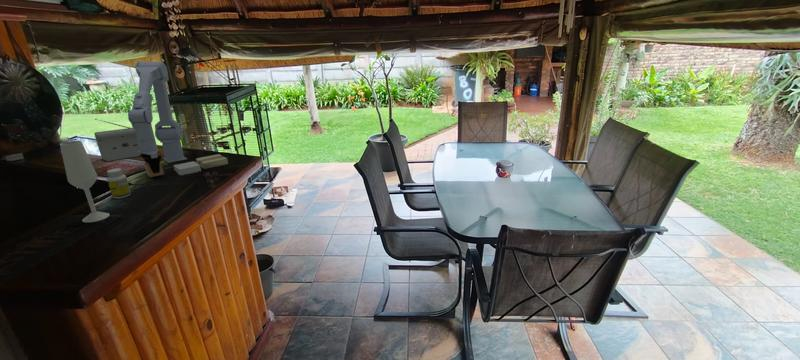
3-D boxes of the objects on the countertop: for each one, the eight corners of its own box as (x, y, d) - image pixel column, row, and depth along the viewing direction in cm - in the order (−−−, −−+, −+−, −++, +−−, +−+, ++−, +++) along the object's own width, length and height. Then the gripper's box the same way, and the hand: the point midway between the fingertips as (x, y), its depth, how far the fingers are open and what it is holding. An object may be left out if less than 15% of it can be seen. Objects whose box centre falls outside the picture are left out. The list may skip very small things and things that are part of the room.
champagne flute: (87, 224, 106) (60, 147, 97) (78, 219, 109) (51, 143, 101) (113, 215, 111) (90, 141, 103) (104, 211, 115) (80, 138, 106)
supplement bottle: (109, 197, 125) (101, 171, 122) (126, 192, 130) (118, 166, 126) (117, 200, 123) (109, 173, 119) (134, 194, 127) (127, 169, 124)
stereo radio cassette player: (154, 150, 180) (144, 111, 173) (157, 154, 175) (147, 113, 168) (102, 159, 167) (88, 117, 160) (103, 163, 162) (90, 119, 154)
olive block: (197, 164, 161) (195, 158, 160) (219, 160, 167) (218, 154, 166) (204, 169, 154) (203, 163, 153) (228, 164, 161) (227, 158, 160)
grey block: (174, 171, 151) (173, 165, 150) (195, 167, 157) (193, 161, 156) (180, 176, 146) (178, 169, 145) (201, 172, 151) (199, 165, 150)
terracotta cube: (147, 174, 147) (143, 162, 145) (160, 171, 150) (158, 160, 148) (149, 177, 143) (146, 165, 141) (164, 174, 147) (161, 162, 145)
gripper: (130, 137, 143) (139, 169, 148) (138, 144, 134) (147, 177, 139) (150, 134, 148) (158, 165, 153) (159, 140, 138) (168, 173, 143)
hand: (154, 171), depth 146 cm, fingers closed on terracotta cube, 5 cm apart
